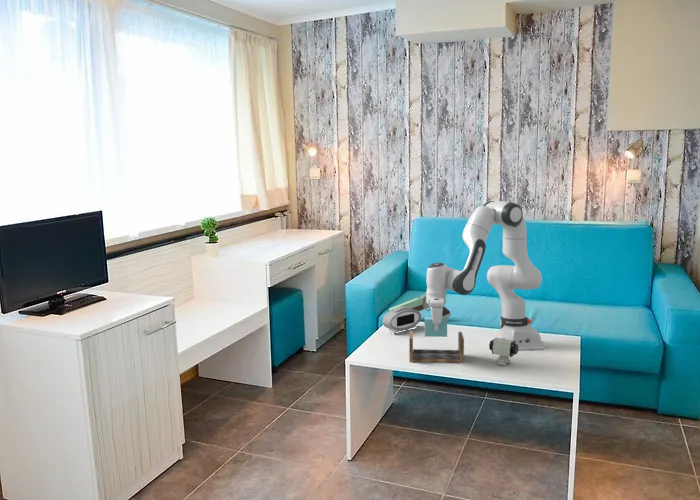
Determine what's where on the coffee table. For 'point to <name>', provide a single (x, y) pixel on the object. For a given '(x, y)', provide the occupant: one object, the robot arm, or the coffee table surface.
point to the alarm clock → (401, 319)
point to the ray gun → (420, 306)
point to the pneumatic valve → (503, 349)
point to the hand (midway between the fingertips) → (435, 328)
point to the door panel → (430, 328)
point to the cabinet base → (437, 353)
